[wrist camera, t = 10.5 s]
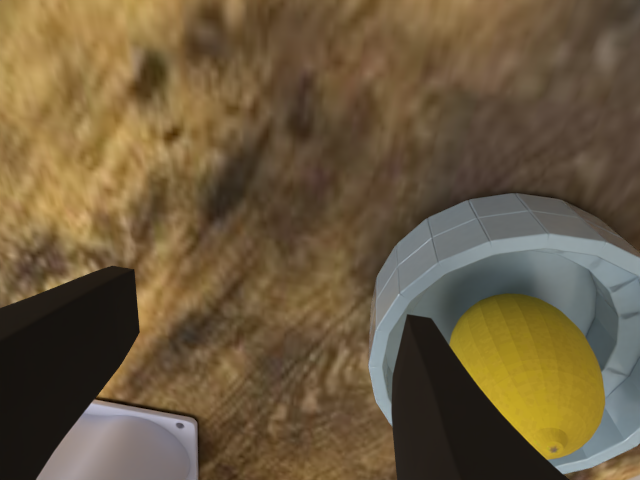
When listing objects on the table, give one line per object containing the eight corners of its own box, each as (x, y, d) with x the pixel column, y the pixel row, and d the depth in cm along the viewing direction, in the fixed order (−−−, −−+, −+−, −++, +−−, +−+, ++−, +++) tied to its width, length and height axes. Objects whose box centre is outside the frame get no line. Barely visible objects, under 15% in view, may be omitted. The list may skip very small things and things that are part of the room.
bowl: (356, 376, 25) (351, 450, 21) (395, 171, 20) (399, 211, 15) (575, 414, 24) (619, 500, 20) (676, 211, 19) (766, 265, 15)
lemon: (536, 364, 23) (608, 518, 15) (428, 347, 23) (449, 490, 16) (573, 271, 20) (679, 402, 13) (452, 254, 21) (489, 371, 13)
